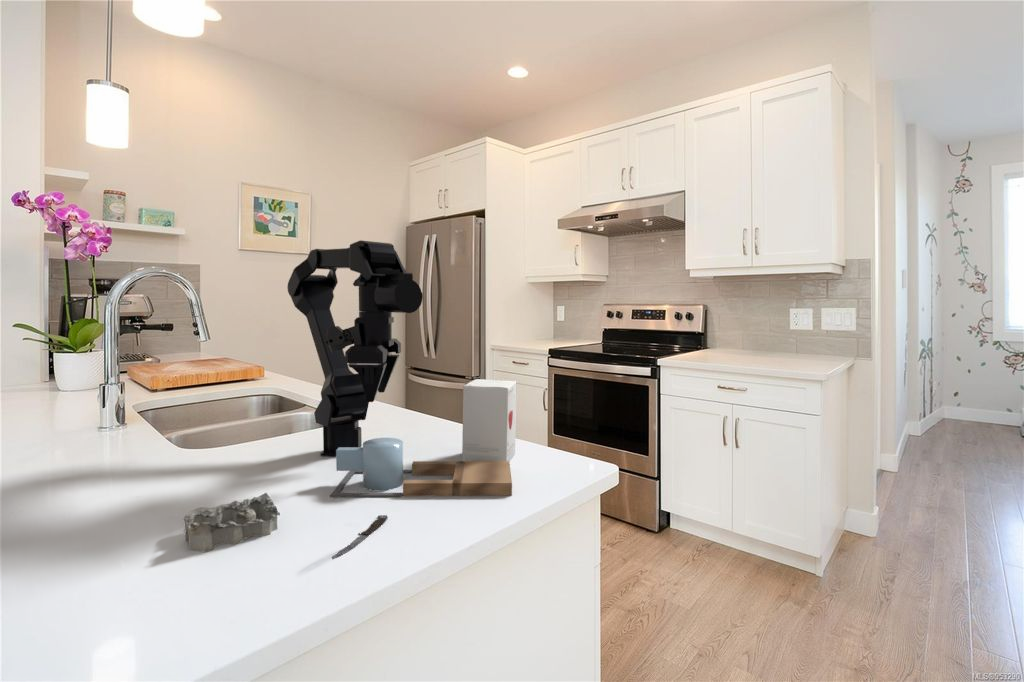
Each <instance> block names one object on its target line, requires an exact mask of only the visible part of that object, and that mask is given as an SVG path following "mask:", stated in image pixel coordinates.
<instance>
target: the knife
mask: <svg viewBox="0 0 1024 682" xmlns="http://www.w3.org/2000/svg"><path fill="white" fill-rule="evenodd" d="M387 520H388V516H387V514H383V515H377V519H375V520H374V521H372V523H371V524H370V526H369V527H368V528H366V530H364V531H362V532H359V533H358V534H357V535H359V536H357V537H356V538H355V539H354V540H353V541H352V542H350V545H349V544H348V545H347V547H346V546H345V547H344V548H342V549H340V550H339V552H338V551H337V552H338V553H337V552H336V553H337V554H336V553H335V554H333V555H332V556H331V559H332V560H335V559H337V558H339V557H342V556H343V555H345V554H347V553H349V552H350V551H352V550H354V549H355V548H356V547H358V546H359V545H360V544H361V543H362V542H363V541H365V540H366V539H367V538H369V537H370V536H369V535H372V534H373V533H374V531H375V532H376V531H378V530H379V529H380V528H381V527H382V526H383V525H384V524H385V523H386V521H387ZM381 525H382V526H381ZM360 533H361V534H360ZM358 544H359V545H358Z"/></svg>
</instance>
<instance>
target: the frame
mask: <svg viewBox="0 0 1024 682" xmlns="http://www.w3.org/2000/svg"><path fill="white" fill-rule="evenodd" d="M354 473H355V474H363V471H347V474H346V475H345V476H344V478H343V479H342V480H341V481H340V482H339V484H338V485H337V486H336V487H335V488H334V489H333V491H331V493H330V495H329V498H401V497H402V496H403V492H342V490H343V489H344V488H345V487H344V486H347V484H348V483H349V482H350V480H351V479H352V478H353V476H355V474H354ZM403 474H412V469H403ZM351 477H352V478H351ZM340 491H341V492H340Z"/></svg>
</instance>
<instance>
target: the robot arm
mask: <svg viewBox="0 0 1024 682" xmlns="http://www.w3.org/2000/svg"><path fill="white" fill-rule="evenodd" d="M394 247H395V246H394V245H393V244H392V243H389V242H383V241H381V242H380V241H371V240H362V239H360V240H357V241H354V242H352V243H350V245H349V247H346V248H329V249H323V248H314V249H311V250H310V252H309V253H308V255H307V257H306V259H305V260H303V261H302V262H300V263H299V264H298V265H297V266H295V267H294V269H293V270H292V273H291V274H290V277H289V279H288V281H287V293H288V295H289V296H290V298H291V301H292V303H293V306H294V307H295V308H296V309H297V310H298V311H299V312H301V314H302V315H304V316H305V318H306V319H307V323H308V327H309V330H310V332H311V335H312V336H311V337H312V339H313V343H314V346H315V350H316V353H317V356H318V359H319V362H320V366H321V370H322V373H323V376H324V381H323V384H322V388H321V391H320V396H321V400H320V402H319V404H318V405H317V407H316V408H315V411H314V413H313V414H314V420H315V423H316V424H318V425H321V426H322V433H323V434H322V437H323V439H322V442H323V443H322V445H323V446H322V447H323V450H322V451H320V456H330V457H331V456H335V457H336V450H337V449H338V448H339V447H363V443H362V427H361V426H359V422H360V421H365V420H366V419H367V412H368V409H369V404H370V403H373V402H374V401H375V399H376V397H377V393H385V391H386V389H387V386H388V384H389V381H390V379H391V377H392V374H393V372H394V369H395V367H396V364H397V362H398V360H399V358H400V354H401V353H402V343H401V341H399V340H398V339H397V338H393V336H392V335H393V332H392V330H393V329H392V327H393V325H392V324H393V323H394V322H395V321H394V316H392V313H396V314H397V313H400V314H402V313H403V314H412V313H414V312H417V311H418V310H419V308H420V307H421V305H422V302H423V296H424V295H423V292H422V290H421V287H420V285H419V284H418V282H416V281H415V280H413V279H414V278H413V277H414V276H413V272H407V270H406V269H405V267H404V265H403V263H402V261H401V259H400V256H399V255H398V252H397V251H396V249H395V248H394ZM337 269H349V270H350V271H352V272H356V273H358V274H359V276H358V277H357V278H356V279H355V280H354V281H353V283H352V285H353V286H354V287H358V316H357V317H355V319H354V321H353V322H354V325H353V326H350V327H347V328H344V329H343V328H342V327H340V326H339V325H336V323H335V320H334V318H333V315H332V312H331V306H332V304H333V301H334V298H335V294H334V291H335V289H336V287H337V285H338V278H337V273H336V271H337ZM316 270H329V271H328V273H327V275H324V274H314V273H315V272H316ZM348 346H350V347H348ZM346 347H348V348H347V350H345V351H344V349H346ZM393 353H395V354H393ZM350 368H352V369H353V370H354V371H355V372H356V373H354V372H353V371H351V370H350Z"/></svg>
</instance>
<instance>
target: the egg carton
mask: <svg viewBox="0 0 1024 682" xmlns="http://www.w3.org/2000/svg"><path fill="white" fill-rule="evenodd" d="M278 516H281V513H280V512H279V511H278V507H277V506H276V505H275V503H274V502H273V500H272V498H271V497H270V496H269V494H268V492H264V493H263V494H261V495H259V496H257V497H256V496H254V497H252V498H251V499H249V498H248V499H243V500H242V501H241V502H240V501H239V500H233V501H231V502H230V503H226V504H221V505H218V506H213V507H197V508H195V509H193V510H191V511H190V512H189V513H187V514H186V515H185V516H183V518H182V521H183V525H184V530H183V532H184V537H185V538H184V539H185V542H188V547H189V549H188V550H189V552H197V551H198V552H202V553H205V552H209V551H212V550H213V549H214V548H215V547H216V546H219V545H222V544H232V545H236V544H238V543H242V542H244V540H245V539H248V538H249V537H254V536H257V537H258V536H260V537H267V536H270V535H271V534H272V532H274V531H277V530H278V528H279V527H278Z"/></svg>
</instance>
